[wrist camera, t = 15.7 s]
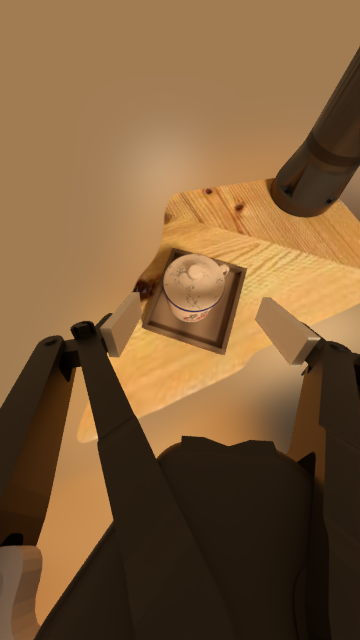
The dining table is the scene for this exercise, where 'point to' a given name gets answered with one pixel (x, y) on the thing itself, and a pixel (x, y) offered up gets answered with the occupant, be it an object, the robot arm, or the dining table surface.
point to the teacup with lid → (194, 286)
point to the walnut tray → (210, 329)
